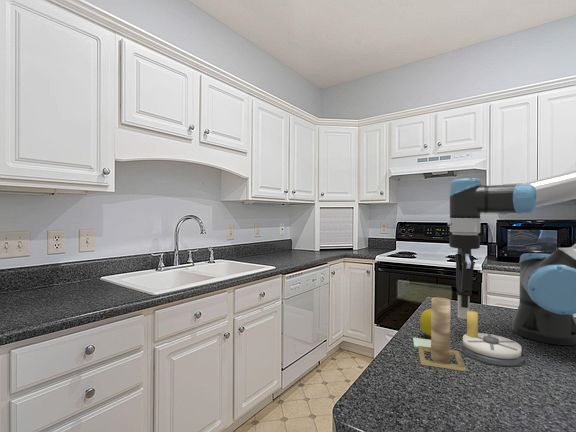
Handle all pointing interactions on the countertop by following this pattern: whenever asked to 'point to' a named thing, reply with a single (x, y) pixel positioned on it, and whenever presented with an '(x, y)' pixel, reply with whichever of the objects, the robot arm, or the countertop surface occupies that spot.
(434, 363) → the square gold frame
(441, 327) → the dowel
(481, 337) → the handwheel
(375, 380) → the countertop surface
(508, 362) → the wheel base
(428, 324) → the lemon
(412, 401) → the countertop surface
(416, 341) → the coaster
